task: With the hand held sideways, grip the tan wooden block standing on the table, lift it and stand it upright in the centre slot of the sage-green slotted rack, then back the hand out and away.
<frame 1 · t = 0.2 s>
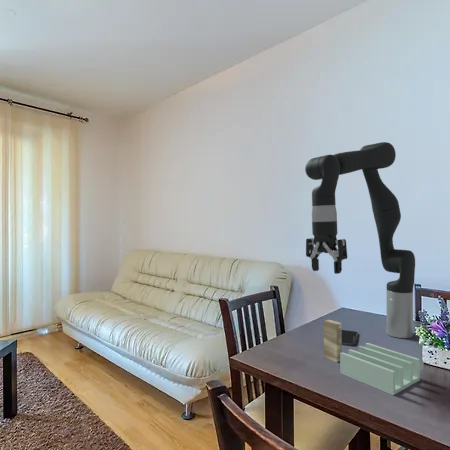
hand: (326, 272, 109), 29 cm above the table, tool pointing down, fingers open, 8 cm apart
slotted rack: (378, 376, 100), on the table
tan wooden block: (332, 358, 113), on the table
phone: (346, 339, 132), on the table
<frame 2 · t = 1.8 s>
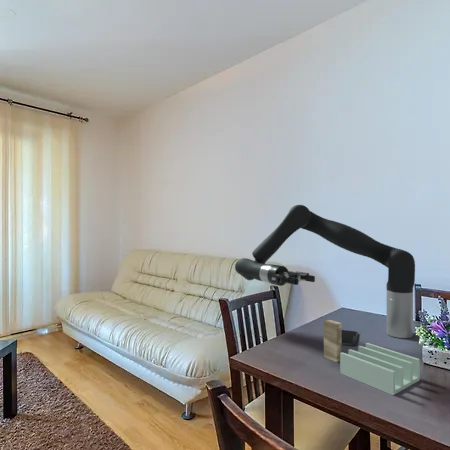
hand: (306, 280, 121), 24 cm above the table, tool horizontal, fingers open, 8 cm apart
nothing on the table moved.
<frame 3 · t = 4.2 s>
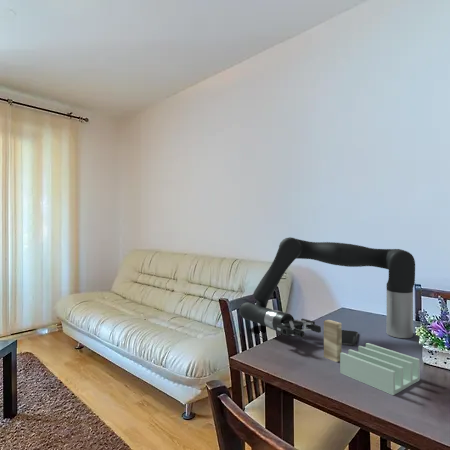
hand: (312, 332, 120), 6 cm above the table, tool horizontal, fingers open, 8 cm apart
nothing on the table moved.
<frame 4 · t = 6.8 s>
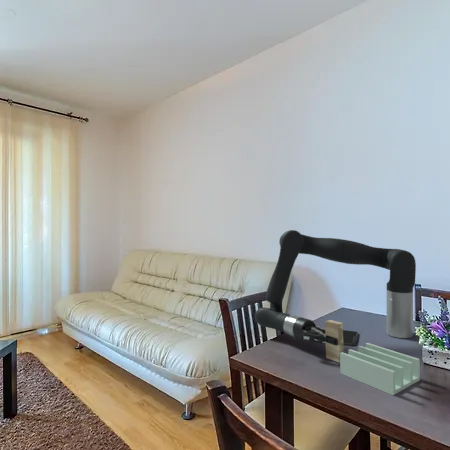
hand: (340, 341, 110), 7 cm above the table, tool horizontal, fingers closed on tan wooden block, 2 cm apart
tan wooden block: (334, 359, 112), on the table, touching gripper
everything else where it was.
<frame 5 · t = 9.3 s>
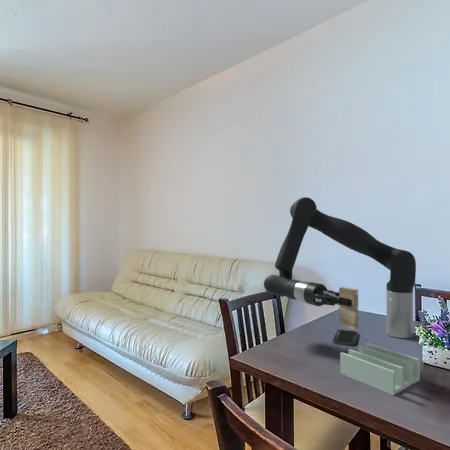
hand: (354, 302, 106), 20 cm above the table, tool horizontal, fingers closed on tan wooden block
tan wooden block: (348, 326, 108), point 12 cm above the table, touching gripper
everything else where it was.
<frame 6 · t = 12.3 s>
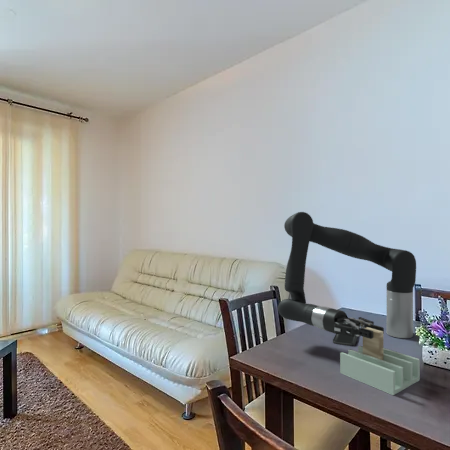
hand: (377, 333, 100), 12 cm above the table, tool horizontal, fingers open, 4 cm apart
tan wooden block: (372, 370, 101), point 1 cm above the table, touching slotted rack
everything else where it was.
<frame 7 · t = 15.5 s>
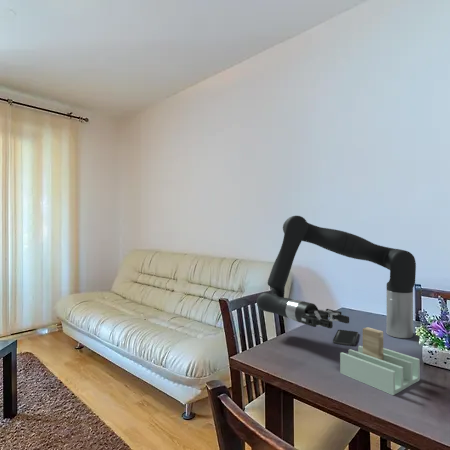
hand: (340, 322, 110), 13 cm above the table, tool horizontal, fingers open, 8 cm apart
nothing on the table moved.
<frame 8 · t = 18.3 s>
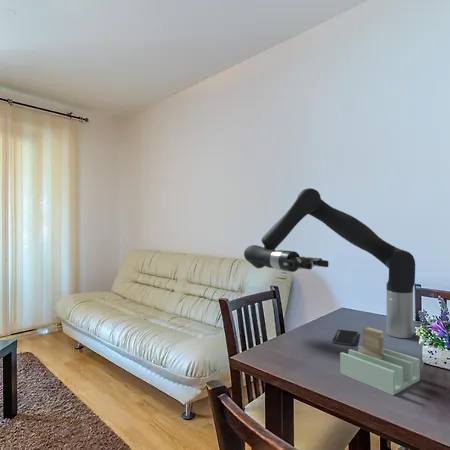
hand: (319, 265, 116), 30 cm above the table, tool horizontal, fingers open, 8 cm apart
nothing on the table moved.
at the end: tan wooden block inside the target area on the slotted rack (1.9 cm from its centre), point 1.0 cm above the slotted rack's base; tan wooden block tilted 0°; the gripper is holding nothing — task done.
